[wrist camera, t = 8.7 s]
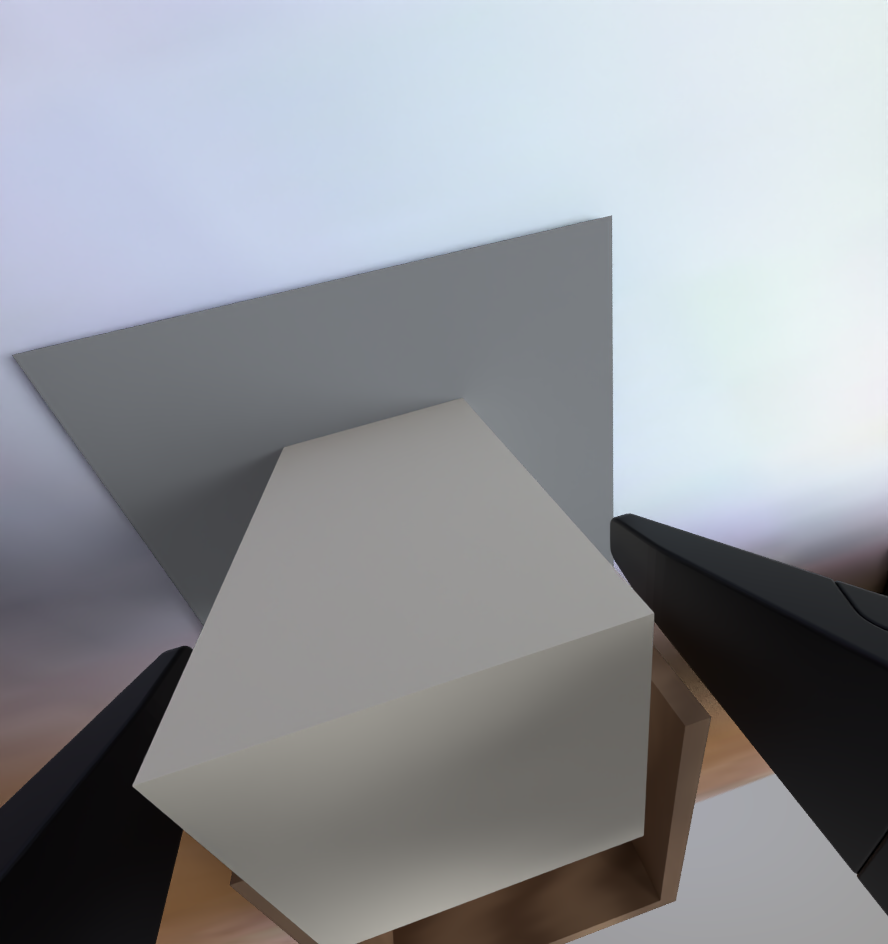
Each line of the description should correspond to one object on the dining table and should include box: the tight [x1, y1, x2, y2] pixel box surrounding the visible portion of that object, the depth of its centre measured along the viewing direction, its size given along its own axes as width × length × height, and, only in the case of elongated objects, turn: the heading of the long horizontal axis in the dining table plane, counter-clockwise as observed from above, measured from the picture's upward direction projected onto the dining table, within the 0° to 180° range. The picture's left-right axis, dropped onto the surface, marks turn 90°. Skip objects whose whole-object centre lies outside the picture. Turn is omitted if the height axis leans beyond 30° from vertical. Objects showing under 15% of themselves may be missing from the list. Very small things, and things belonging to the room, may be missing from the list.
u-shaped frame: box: [230, 646, 711, 944], centre depth 19 cm, size 17×18×4 cm
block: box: [132, 398, 654, 944], centre depth 8 cm, size 5×5×8 cm
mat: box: [12, 216, 613, 626], centre depth 12 cm, size 14×12×1 cm
